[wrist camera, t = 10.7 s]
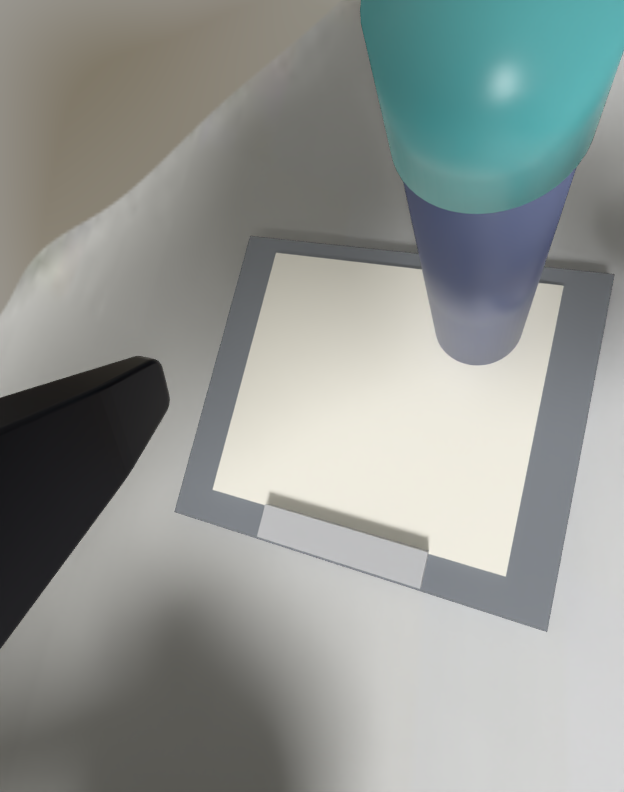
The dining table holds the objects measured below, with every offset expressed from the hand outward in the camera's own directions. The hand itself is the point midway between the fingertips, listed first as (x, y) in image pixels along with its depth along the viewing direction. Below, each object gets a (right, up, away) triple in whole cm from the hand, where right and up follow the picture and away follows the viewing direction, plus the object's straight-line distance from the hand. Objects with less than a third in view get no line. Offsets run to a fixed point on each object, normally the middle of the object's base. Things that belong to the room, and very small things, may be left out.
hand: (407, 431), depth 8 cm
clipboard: (+1, 0, +12) cm, 12 cm away
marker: (+4, +3, +10) cm, 12 cm away
